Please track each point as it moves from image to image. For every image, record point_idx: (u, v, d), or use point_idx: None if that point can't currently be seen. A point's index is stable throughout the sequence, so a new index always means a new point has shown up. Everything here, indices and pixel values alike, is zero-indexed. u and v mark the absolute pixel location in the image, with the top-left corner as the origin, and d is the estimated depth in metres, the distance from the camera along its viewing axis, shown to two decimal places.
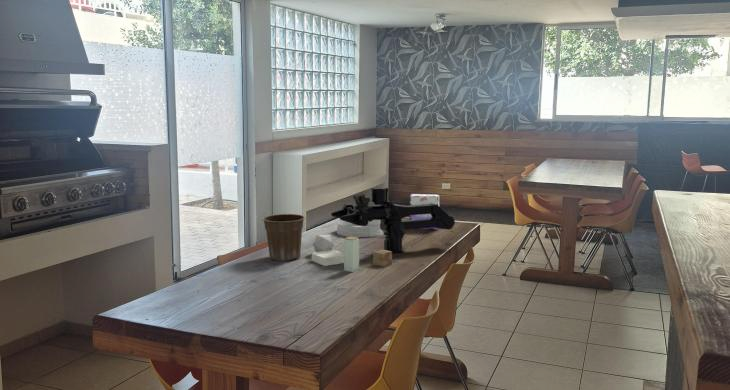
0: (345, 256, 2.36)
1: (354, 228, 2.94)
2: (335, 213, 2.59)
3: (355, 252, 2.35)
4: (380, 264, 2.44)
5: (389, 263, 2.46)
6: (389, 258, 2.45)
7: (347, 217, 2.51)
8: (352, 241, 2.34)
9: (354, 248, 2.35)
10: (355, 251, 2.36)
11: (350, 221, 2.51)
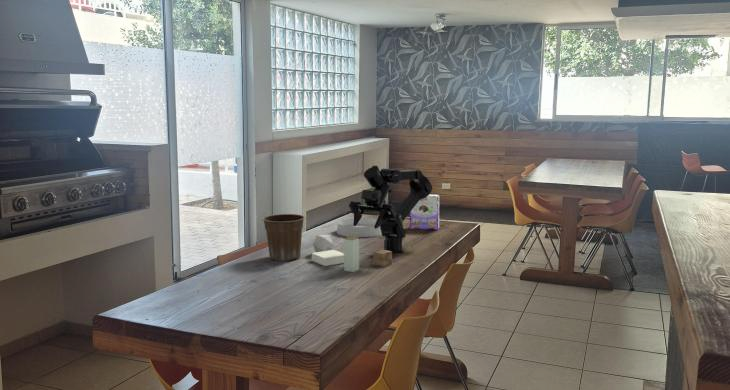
0: (345, 256, 2.36)
1: (354, 228, 2.94)
2: (355, 221, 2.50)
3: (355, 252, 2.35)
4: (380, 264, 2.44)
5: (389, 263, 2.46)
6: (389, 258, 2.45)
7: (379, 222, 2.46)
8: (352, 241, 2.34)
9: (354, 248, 2.35)
10: (355, 251, 2.36)
11: (382, 222, 2.47)
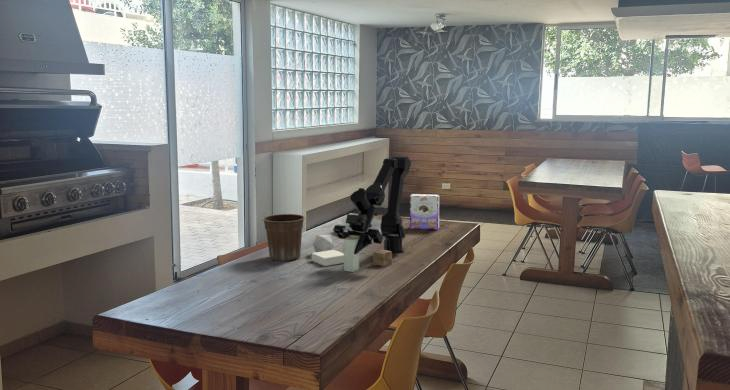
0: (345, 256, 2.36)
1: None
2: None
3: None
4: (380, 264, 2.44)
5: (389, 263, 2.46)
6: (389, 258, 2.45)
7: (359, 247, 2.36)
8: (352, 241, 2.34)
9: (354, 248, 2.35)
10: None
11: (362, 247, 2.37)
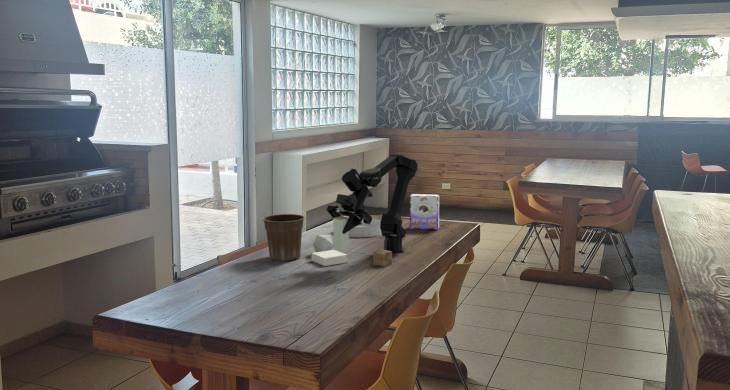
0: (334, 235, 2.40)
1: (354, 228, 2.94)
2: None
3: None
4: (380, 264, 2.44)
5: (389, 263, 2.46)
6: (389, 258, 2.45)
7: (348, 226, 2.39)
8: (340, 220, 2.37)
9: (343, 228, 2.38)
10: None
11: (352, 227, 2.40)
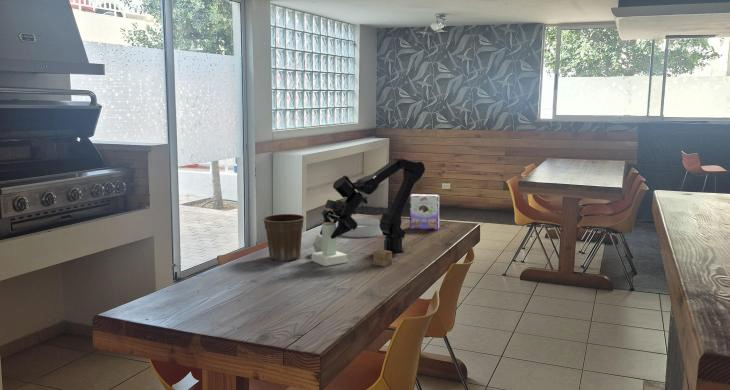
0: (322, 240, 2.49)
1: None
2: None
3: (329, 236, 2.47)
4: (380, 264, 2.44)
5: (389, 263, 2.46)
6: (389, 258, 2.45)
7: (337, 232, 2.45)
8: (326, 226, 2.46)
9: (329, 233, 2.47)
10: None
11: (341, 233, 2.46)
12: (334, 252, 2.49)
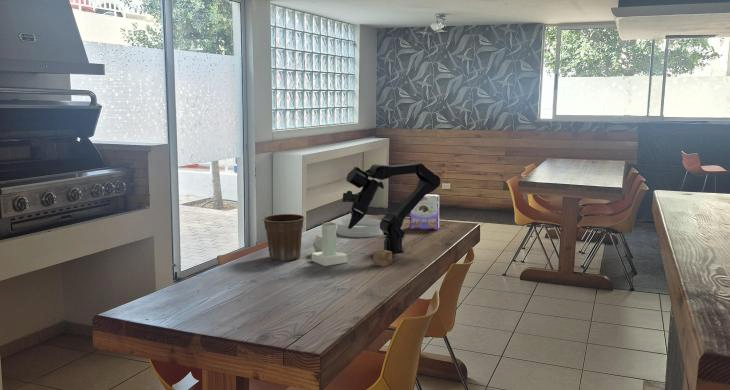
0: (322, 240, 2.49)
1: (354, 228, 2.94)
2: None
3: (329, 236, 2.47)
4: (380, 264, 2.44)
5: (389, 263, 2.46)
6: (389, 258, 2.45)
7: (353, 220, 2.51)
8: (326, 226, 2.46)
9: (329, 233, 2.47)
10: (331, 236, 2.47)
11: (357, 220, 2.51)
12: (334, 252, 2.49)
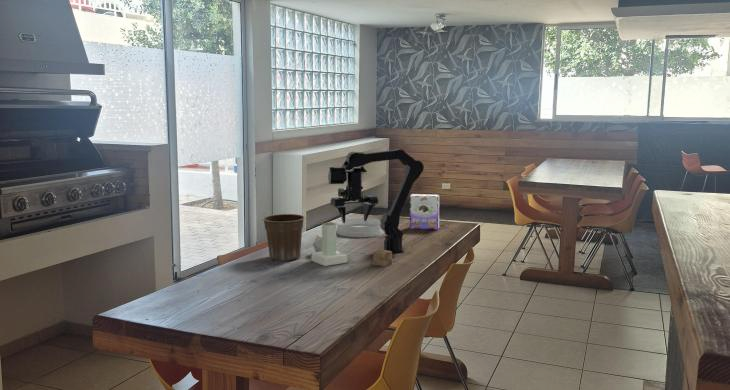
0: (322, 240, 2.49)
1: (354, 228, 2.94)
2: (364, 216, 2.63)
3: (329, 236, 2.47)
4: (380, 264, 2.44)
5: (389, 263, 2.46)
6: (389, 258, 2.45)
7: (341, 215, 2.59)
8: (326, 226, 2.46)
9: (329, 233, 2.47)
10: (331, 236, 2.47)
11: (342, 214, 2.57)
12: (334, 252, 2.49)
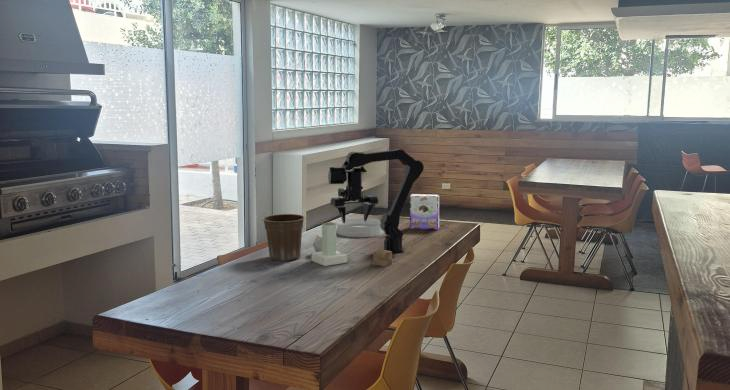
0: (322, 240, 2.49)
1: (354, 228, 2.94)
2: (364, 216, 2.63)
3: (329, 236, 2.47)
4: (380, 264, 2.44)
5: (389, 263, 2.46)
6: (389, 258, 2.45)
7: (341, 215, 2.59)
8: (326, 226, 2.46)
9: (329, 233, 2.47)
10: (331, 236, 2.47)
11: (342, 214, 2.57)
12: (334, 252, 2.49)
